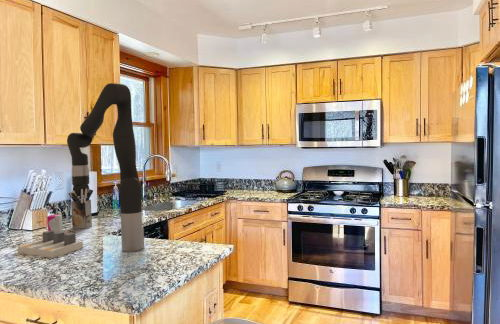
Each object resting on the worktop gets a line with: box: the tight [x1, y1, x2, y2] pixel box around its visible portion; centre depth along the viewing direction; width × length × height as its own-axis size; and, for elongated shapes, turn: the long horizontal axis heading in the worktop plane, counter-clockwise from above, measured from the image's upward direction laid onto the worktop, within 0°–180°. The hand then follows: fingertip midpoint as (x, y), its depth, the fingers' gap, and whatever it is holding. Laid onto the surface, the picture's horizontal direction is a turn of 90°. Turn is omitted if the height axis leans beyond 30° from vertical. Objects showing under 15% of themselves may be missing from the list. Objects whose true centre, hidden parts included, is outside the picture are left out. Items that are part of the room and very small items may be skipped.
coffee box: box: [70, 199, 93, 229], centre depth 213 cm, size 9×6×16 cm
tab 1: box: [42, 230, 54, 243], centre depth 174 cm, size 4×3×5 cm
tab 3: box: [64, 232, 77, 246], centre depth 168 cm, size 4×3×5 cm
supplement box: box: [47, 213, 64, 233], centre depth 192 cm, size 6×6×12 cm
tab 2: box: [53, 231, 65, 244], centre depth 171 cm, size 4×3×5 cm
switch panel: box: [17, 238, 84, 259], centre depth 167 cm, size 16×22×3 cm
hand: (81, 210), depth 175 cm, fingers closed
